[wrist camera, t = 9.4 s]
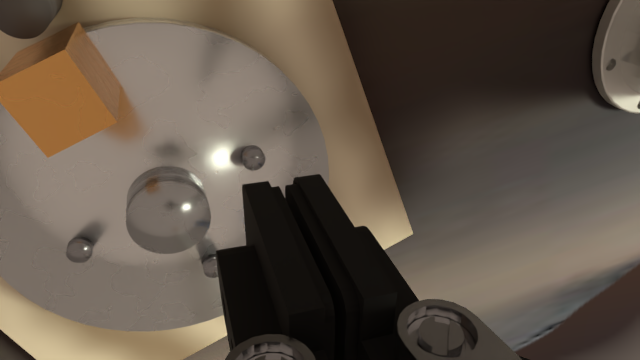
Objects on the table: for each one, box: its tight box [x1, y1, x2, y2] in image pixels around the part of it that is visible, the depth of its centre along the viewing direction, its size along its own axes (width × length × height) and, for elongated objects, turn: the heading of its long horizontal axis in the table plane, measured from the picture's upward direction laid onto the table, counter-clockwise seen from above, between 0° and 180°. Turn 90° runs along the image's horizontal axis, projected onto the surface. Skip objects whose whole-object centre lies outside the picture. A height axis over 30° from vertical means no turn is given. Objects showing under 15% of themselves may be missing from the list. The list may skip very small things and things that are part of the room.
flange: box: [0, 18, 329, 332], centre depth 24 cm, size 18×18×6 cm
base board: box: [0, 0, 413, 360], centre depth 27 cm, size 25×25×6 cm
